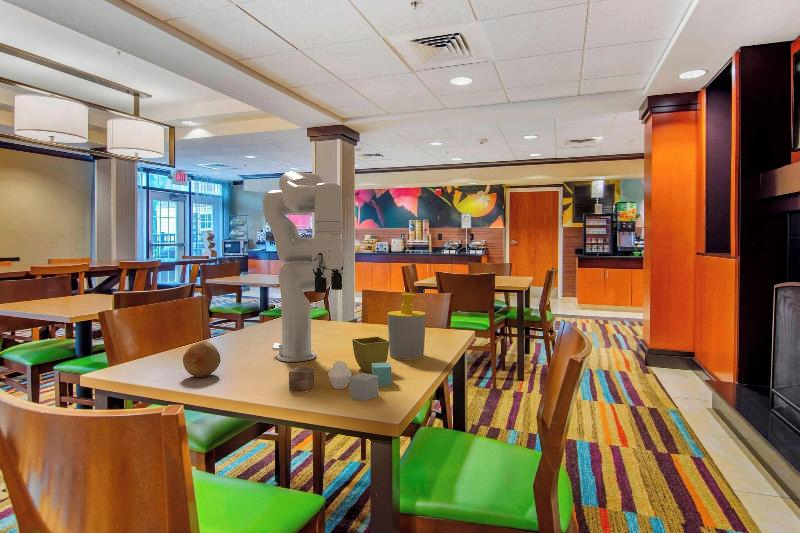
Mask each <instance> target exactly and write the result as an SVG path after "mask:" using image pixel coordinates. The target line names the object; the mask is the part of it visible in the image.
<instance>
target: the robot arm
mask: <svg viewBox="0 0 800 533" xmlns="http://www.w3.org/2000/svg"><path fill="white" fill-rule="evenodd" d="M278 187H279V189H280V190H278V189H277V190H270V191H268V192H266V193H265V194H264V195H263V199H262V212H263V214H264V215H263V216H264V219H265V221H266V223H267V225H268V227H269V228H270V230H271V233H272V235H273V240H274V244H275V248H276V249H275V250H276V252H277V257H278V260H279V261H280V263H281V264H283V265H282V266H280V268H279V269H278V276H277V277H278V285H279V290H280V300H281V301H280V302H281V343H274V344H273V347H272V351H278V354H277V355H276V357H277V360H278V361H282V362H287V363H288V362H289V363H292V362H293V363H295V362H304V361H305V362H306V361H310V360H313V359H315V358H316V357H317V353H316V352H315V351H312V306H311V303H310V302H311V301H309V298H308V297H306V295H305V294H304V292H315V294H317V293H319V294H321V293H322V294H325V293H327V290H328V289H329V288H330V287H331V290H333V291H342V290H343V275H344V274H343V270H344V263H345V260H344V259H343V243H342V236H341V235H343V198H342V196H343V194H342V193H343V190H342V187H341V185H340V184H338V183H333V182H324V180H323V179H322V177H321V176H320V175H319V174H317V173H311V172H301V171H300V172H299V171H298V172H297V171H289V172H286V173H284V174H282V175H281V177H280V178H279V181H278ZM312 213H314V214H313V215H314V216H313V218H314V219H313V220H314V223H313V224H314V235H313V237H303V236H301V235H300V234H299V230H298V227H297V226H296V224H295V223H294V222H292V220H291V219H290V218H289V217H288V215H289V216H309V215H311V214H312Z"/></svg>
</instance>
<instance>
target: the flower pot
mask: <svg viewBox="0 0 800 533" xmlns="http://www.w3.org/2000/svg"><path fill="white" fill-rule="evenodd" d="M389 342H390V341H389V339H385V338H382V337H380V336H370V337H361V338H359V337H358V338H352V342H351V343H352V350H353V355H354V359H355V361H356V363H357V365H358V367H359V368H360V369H362V370H363V371H365V372H367V373H369V372H370V373H371V372H372V363H387V361H388V358H389V357H388V356H389Z"/></svg>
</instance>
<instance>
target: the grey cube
mask: <svg viewBox="0 0 800 533" xmlns="http://www.w3.org/2000/svg"><path fill="white" fill-rule="evenodd" d="M378 396H379V386H378V376H376V375H372V374H370V373H365V372H361V373H359V374H356V375H352V376H351V377H350V380H349V398H351V399H355V400H360V401H364V402H367V401H370V400H372V399H374V398H376V397H378Z"/></svg>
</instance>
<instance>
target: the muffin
mask: <svg viewBox="0 0 800 533" xmlns="http://www.w3.org/2000/svg"><path fill="white" fill-rule="evenodd" d="M327 377H328V379H329V382H330V383H331V385H332V387H333V388H334V389H336V390H337V389H338V390H341V389H346V388H347V386H348V384H349V383H350V377H352V371H351V370H350V369H349V367H348V366H347V363H346V362H345V361H340V360H339V361H335V362H334V363H333V365H332V367H331V369H330V370H329V371H328V373H327Z"/></svg>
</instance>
